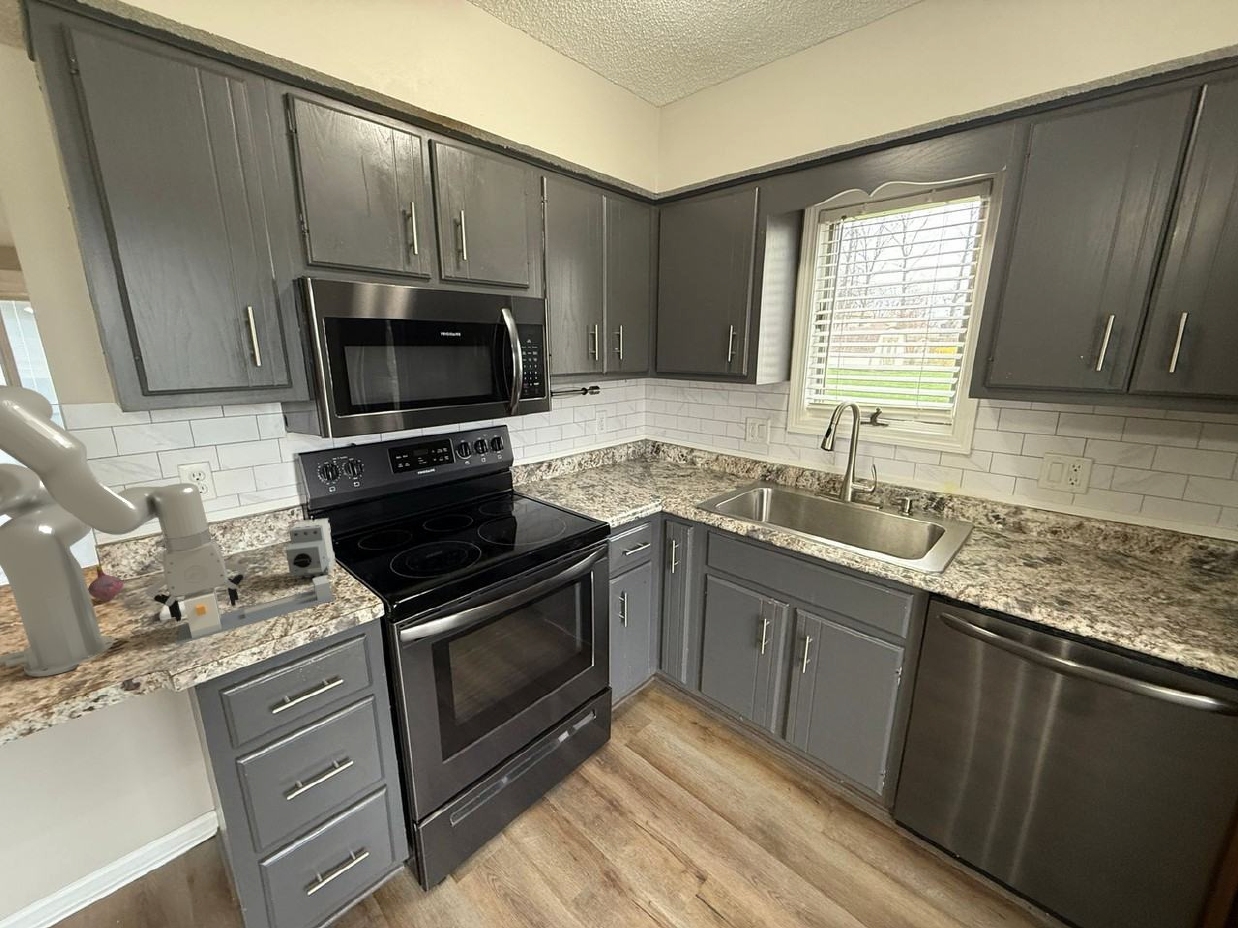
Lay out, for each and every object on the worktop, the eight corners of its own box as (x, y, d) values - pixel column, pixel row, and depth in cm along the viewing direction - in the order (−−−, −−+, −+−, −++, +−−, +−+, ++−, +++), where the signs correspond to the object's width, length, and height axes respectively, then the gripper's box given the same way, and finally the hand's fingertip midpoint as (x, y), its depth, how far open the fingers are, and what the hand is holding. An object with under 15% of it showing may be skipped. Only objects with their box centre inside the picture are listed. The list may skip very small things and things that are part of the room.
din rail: (245, 618, 115) (244, 613, 115) (245, 614, 117) (244, 609, 117) (319, 597, 124) (318, 593, 124) (317, 594, 126) (317, 590, 126)
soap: (212, 604, 124) (209, 593, 124) (210, 613, 120) (207, 602, 119) (164, 616, 119) (161, 604, 118) (161, 626, 115) (158, 614, 114)
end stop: (317, 600, 123) (315, 585, 122) (314, 593, 127) (312, 578, 126) (331, 596, 125) (329, 582, 124) (328, 589, 129) (325, 575, 128)
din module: (191, 639, 107) (183, 604, 105) (193, 623, 113) (185, 589, 111) (221, 631, 110) (213, 596, 108) (220, 616, 116) (213, 583, 114)
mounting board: (177, 648, 105) (176, 644, 105) (180, 629, 113) (179, 625, 113) (336, 603, 123) (335, 599, 123) (329, 588, 131) (328, 585, 131)
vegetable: (89, 602, 126) (79, 566, 124) (123, 592, 131) (113, 557, 128) (95, 609, 122) (84, 572, 120) (129, 598, 127) (119, 563, 125)
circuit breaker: (290, 592, 130) (280, 538, 126) (307, 569, 143) (299, 520, 140) (322, 587, 132) (313, 535, 128) (336, 566, 145) (328, 517, 142)
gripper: (131, 557, 99) (153, 632, 103) (238, 534, 109) (255, 604, 114) (136, 546, 105) (157, 618, 109) (237, 525, 115) (253, 592, 119)
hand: (207, 611), depth 111 cm, fingers open, 9 cm apart
